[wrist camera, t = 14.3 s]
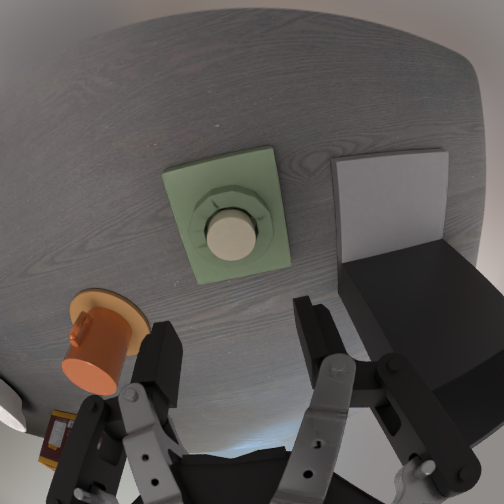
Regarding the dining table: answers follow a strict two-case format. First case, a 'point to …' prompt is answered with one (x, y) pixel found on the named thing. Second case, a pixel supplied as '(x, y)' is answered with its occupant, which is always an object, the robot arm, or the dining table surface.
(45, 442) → the supplement box
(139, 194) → the dining table surface
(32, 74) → the dining table surface
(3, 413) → the bowl
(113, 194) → the dining table surface
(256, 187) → the button block
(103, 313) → the cup
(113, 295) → the coaster
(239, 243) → the power button
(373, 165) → the l-shaped bookend
